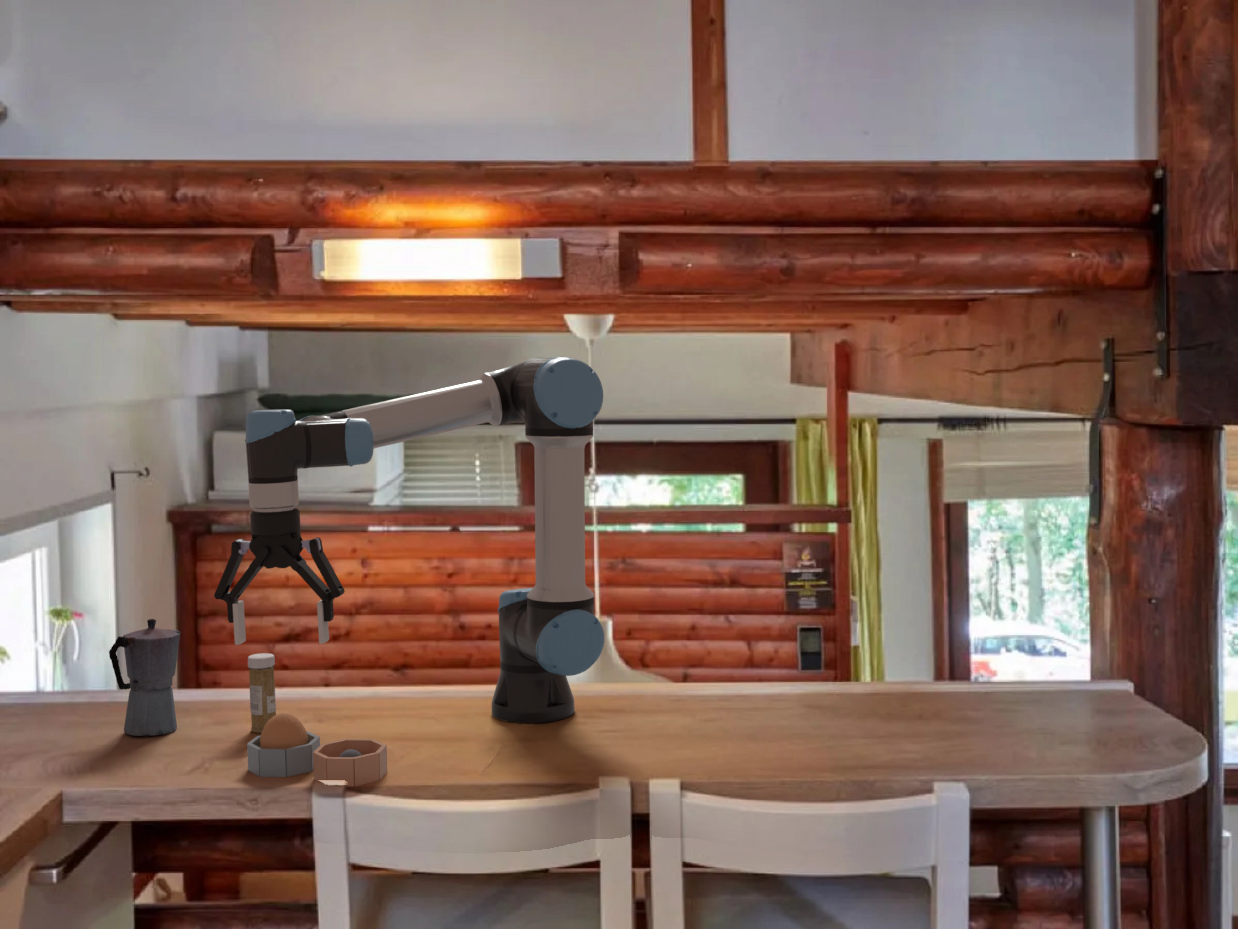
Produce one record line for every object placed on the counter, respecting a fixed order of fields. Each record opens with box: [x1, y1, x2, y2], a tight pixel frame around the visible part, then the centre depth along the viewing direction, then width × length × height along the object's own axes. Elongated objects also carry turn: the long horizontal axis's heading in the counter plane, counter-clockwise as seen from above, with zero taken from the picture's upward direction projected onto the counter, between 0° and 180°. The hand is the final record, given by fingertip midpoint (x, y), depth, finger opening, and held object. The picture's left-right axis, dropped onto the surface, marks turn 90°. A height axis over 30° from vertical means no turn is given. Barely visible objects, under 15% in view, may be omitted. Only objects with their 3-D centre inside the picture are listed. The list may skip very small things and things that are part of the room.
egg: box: [260, 712, 308, 749], centre depth 211 cm, size 7×7×8 cm
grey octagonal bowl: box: [246, 730, 321, 778], centre depth 211 cm, size 10×10×5 cm
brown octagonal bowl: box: [313, 738, 388, 787], centre depth 206 cm, size 10×10×5 cm
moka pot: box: [108, 618, 182, 737], centre depth 234 cm, size 10×15×20 cm, turn 155°
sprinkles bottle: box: [247, 652, 277, 734], centre depth 235 cm, size 5×5×13 cm
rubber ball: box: [339, 749, 362, 757], centre depth 206 cm, size 4×4×4 cm
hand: (282, 642), depth 210 cm, fingers open, 13 cm apart
